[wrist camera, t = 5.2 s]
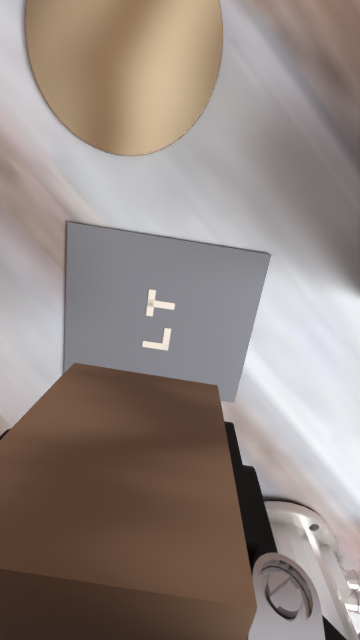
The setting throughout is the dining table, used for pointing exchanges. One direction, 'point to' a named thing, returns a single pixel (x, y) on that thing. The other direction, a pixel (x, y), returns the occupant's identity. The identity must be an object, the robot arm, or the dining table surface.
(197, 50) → the coaster
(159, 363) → the gray tile
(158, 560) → the walnut block
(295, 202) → the dining table surface
